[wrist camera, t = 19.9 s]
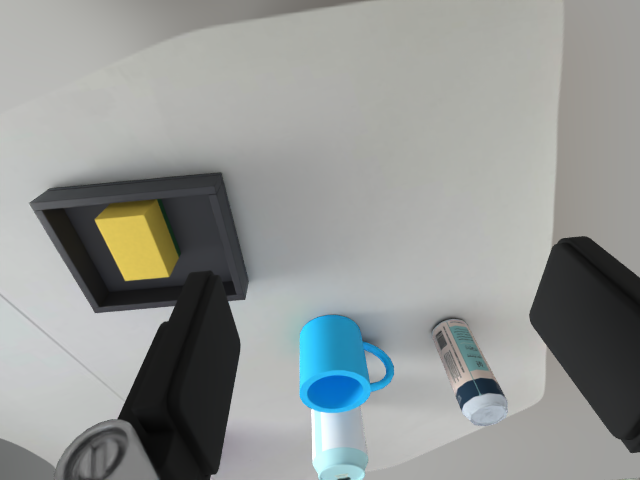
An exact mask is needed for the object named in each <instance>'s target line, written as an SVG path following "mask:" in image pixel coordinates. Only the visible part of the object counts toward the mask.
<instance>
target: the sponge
mask: <svg viewBox="0 0 640 480" xmlns="http://www.w3.org/2000/svg"><path fill="white" fill-rule="evenodd" d="M95 222H96V224H97V226H98V228H99V230H100V232H101V234H102V236H103V238H104V240H105V242H106V244H107V246H108V248H109V249H110V251H111V253H112V255H113V257H114V259H115V261H116V263H117V265H118V267H119V269H120V271H121V273H122V275H123V277H124V279H125V281H130V280H141V279H152V278H163V277H170V275H171V273H172V271H173V269H174V267H175V265H176V263H177V261H178V259H179V257H180V255H181V252H180V249H179V247H178V244H177V241H176V238H175V236H174V233H173V230H172V228H171V225H170V222H169V219H168V217H167V214H166V211H165V209H164V206H163V203H162V201H161V199H154V200H143V201H132V202H121V203H111V204H109V206H108V207H107V208H106V209H105V210H104V211H103V212H102V213H101V214H100V215H99V216H98V217H97V218H96V219H95Z"/></svg>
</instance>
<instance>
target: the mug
mask: <svg viewBox="0 0 640 480" xmlns="http://www.w3.org/2000/svg"><path fill="white" fill-rule="evenodd" d="M364 350H366V351H368V352H371V353H373V354H374V355H375V356H377V357H378V358H379V359H380V360H381V361H382V362H383V363H384V365H385V367H386V375H385V377H384V378H383V379H382V380H380V381H378V382H375V383H370V380H369V375H368V369H367V364H366V358H365V353H364ZM393 376H394V366H393V364H392V361H391V359H390V358H389V357H388V356H387V354H386V353H385V352H384V351H382V350H381V349H379V348H378V347H376V346H374V345H372V344H369V343H367V342H363V341H362V336H361V332H360V329H359V327H358V325H357V324H356V323H355V322H354V321H352V320H351V319H349V318H347V317H343V316H339V315H326V316H321V317H317V318H315V319H313V320H311V321H309V322H308V323H307V324H306V325H305V326H304V327H303V329H302V331H301V333H300V398H301V400H302V402H303V403H304V404H305V405H306V406H308V407H309V408H311V409H313V410H316V411H319V412H325V413H340V412H345V411H349V410H352V409H354V408H357V407H359V406H360V405H361V404H363V403H364V402H365V401H366V400H367V399H368V397H369V396H370V392H373V391H376V390H380V389H382V388H384V387H385V386H386V385H388V384H389V383H390V382H391V380H392V378H393Z"/></svg>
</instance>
